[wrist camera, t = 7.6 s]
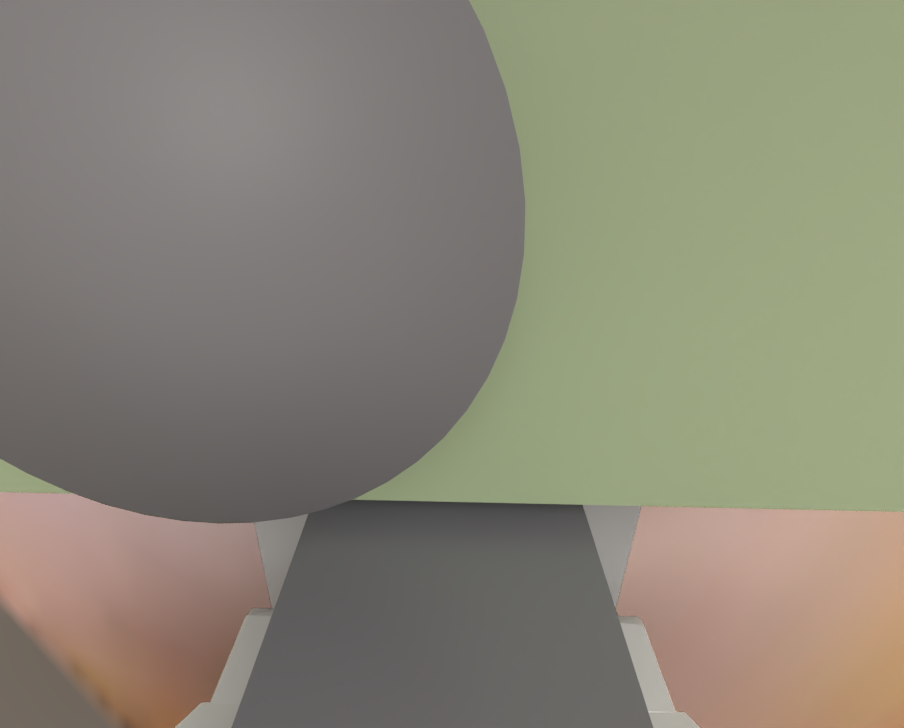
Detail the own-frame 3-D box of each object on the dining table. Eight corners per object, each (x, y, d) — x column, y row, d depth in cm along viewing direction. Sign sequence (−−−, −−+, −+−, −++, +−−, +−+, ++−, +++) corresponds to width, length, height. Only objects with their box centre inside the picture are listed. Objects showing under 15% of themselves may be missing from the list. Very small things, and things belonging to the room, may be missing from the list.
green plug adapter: (913, -112, 8) (2651, -931, 2) (687, 572, 15) (858, 920, 8) (2, -137, 8) (-1797, -1096, 2) (199, 562, 15) (10, 904, 8)
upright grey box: (550, 402, 10) (698, 869, 4) (520, 630, 13) (576, 1090, 7) (350, 397, 10) (185, 858, 4) (367, 627, 13) (291, 1085, 7)
